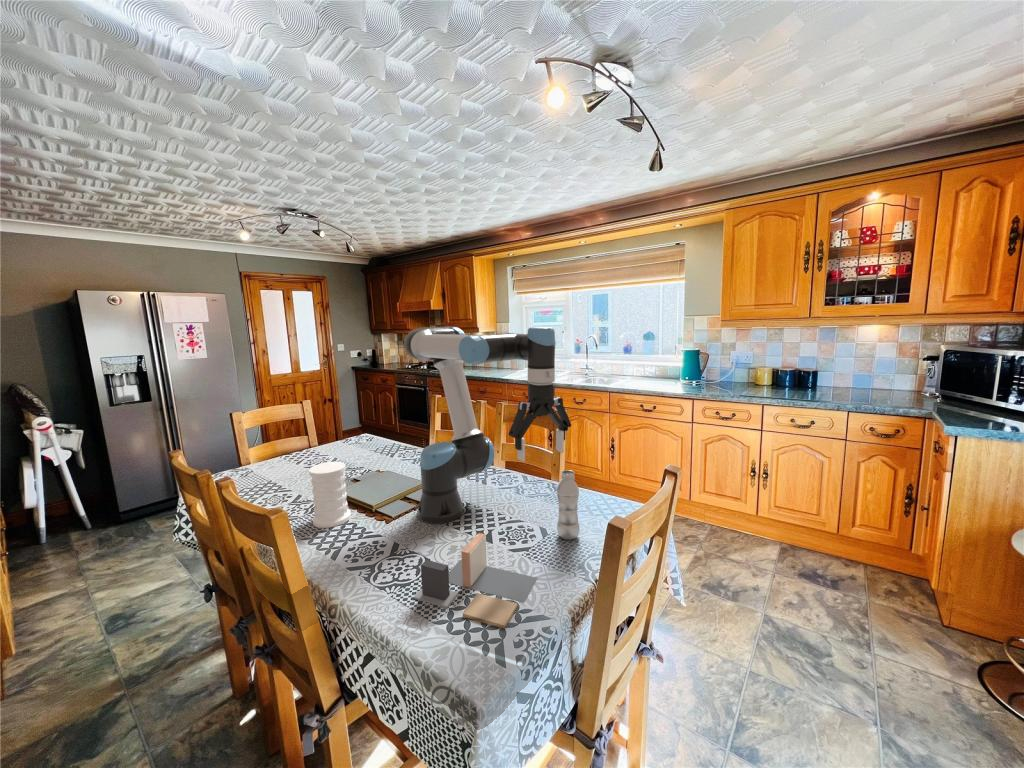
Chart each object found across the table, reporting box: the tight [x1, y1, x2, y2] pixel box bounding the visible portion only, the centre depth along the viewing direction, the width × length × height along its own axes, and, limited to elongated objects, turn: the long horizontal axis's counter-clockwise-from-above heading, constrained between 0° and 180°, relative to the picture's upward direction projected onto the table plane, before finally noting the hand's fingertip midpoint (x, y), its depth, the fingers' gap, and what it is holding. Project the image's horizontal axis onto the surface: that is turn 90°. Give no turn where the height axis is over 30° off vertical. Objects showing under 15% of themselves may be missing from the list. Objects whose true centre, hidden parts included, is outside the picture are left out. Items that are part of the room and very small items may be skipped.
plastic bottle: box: [556, 469, 580, 541], centre depth 118 cm, size 6×7×20 cm
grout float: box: [413, 559, 459, 609], centre depth 93 cm, size 9×5×8 cm, turn 68°
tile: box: [461, 532, 488, 589], centre depth 100 cm, size 2×9×9 cm, turn 158°
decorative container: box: [308, 461, 352, 529], centre depth 132 cm, size 12×12×18 cm
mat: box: [449, 559, 539, 603], centre depth 99 cm, size 22×10×1 cm, turn 68°
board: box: [462, 592, 518, 630], centre depth 88 cm, size 10×7×1 cm
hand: (541, 455), depth 115 cm, fingers open, 13 cm apart
